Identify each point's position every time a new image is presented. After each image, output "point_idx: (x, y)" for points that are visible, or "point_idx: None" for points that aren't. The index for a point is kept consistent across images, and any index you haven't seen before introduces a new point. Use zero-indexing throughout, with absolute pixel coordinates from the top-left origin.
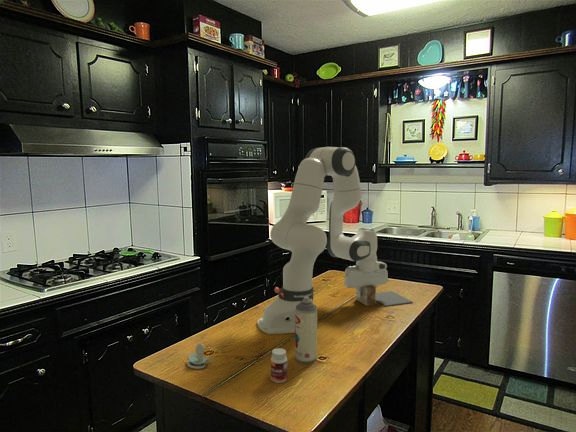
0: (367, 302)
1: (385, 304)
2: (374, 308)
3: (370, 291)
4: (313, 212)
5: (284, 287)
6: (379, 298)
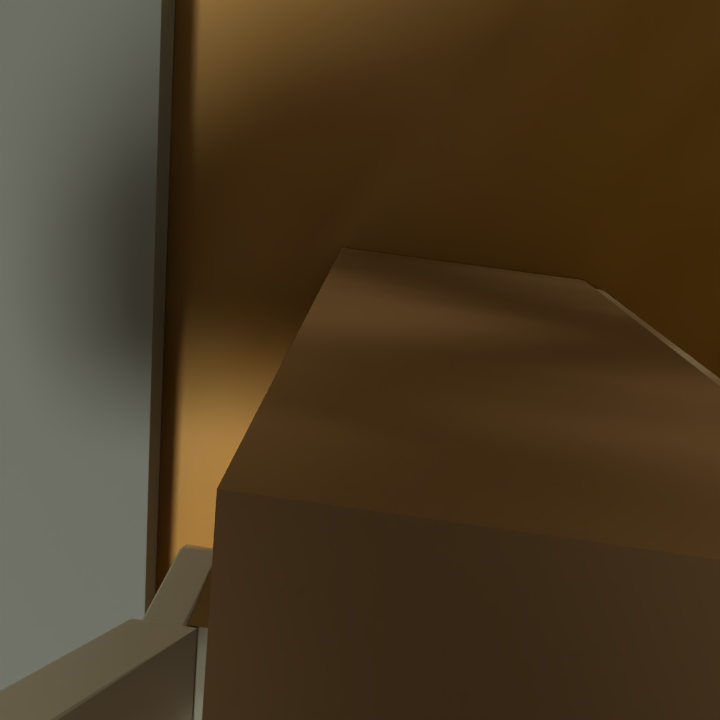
0: (603, 300)
1: (114, 48)
2: (545, 22)
3: (600, 426)
4: None
5: None
6: (8, 497)
